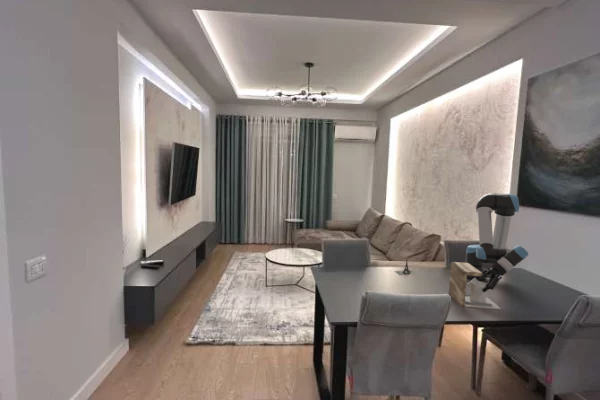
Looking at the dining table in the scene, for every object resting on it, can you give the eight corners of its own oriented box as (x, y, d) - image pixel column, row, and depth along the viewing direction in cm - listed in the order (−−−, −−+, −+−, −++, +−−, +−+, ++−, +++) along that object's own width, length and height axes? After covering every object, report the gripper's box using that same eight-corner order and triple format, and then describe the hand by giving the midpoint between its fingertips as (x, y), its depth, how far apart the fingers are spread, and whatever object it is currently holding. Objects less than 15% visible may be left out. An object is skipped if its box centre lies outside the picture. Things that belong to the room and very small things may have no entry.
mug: (476, 296, 195) (477, 278, 194) (489, 304, 183) (491, 285, 182) (462, 296, 194) (464, 278, 193) (475, 304, 182) (477, 285, 181)
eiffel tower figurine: (411, 271, 247) (412, 254, 246) (418, 275, 237) (420, 257, 236) (393, 271, 243) (394, 254, 242) (400, 275, 234) (401, 257, 233)
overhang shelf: (465, 294, 198) (468, 262, 197) (479, 307, 179) (482, 272, 177) (448, 293, 200) (450, 261, 198) (460, 306, 180) (463, 271, 178)
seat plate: (484, 295, 197) (484, 293, 197) (500, 309, 177) (500, 306, 177) (453, 293, 199) (454, 291, 199) (466, 306, 180) (466, 304, 179)
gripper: (518, 278, 173) (486, 303, 176) (496, 265, 197) (468, 287, 200) (508, 268, 173) (477, 293, 176) (487, 256, 197) (460, 278, 201)
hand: (472, 290), depth 188 cm, fingers open, 13 cm apart
